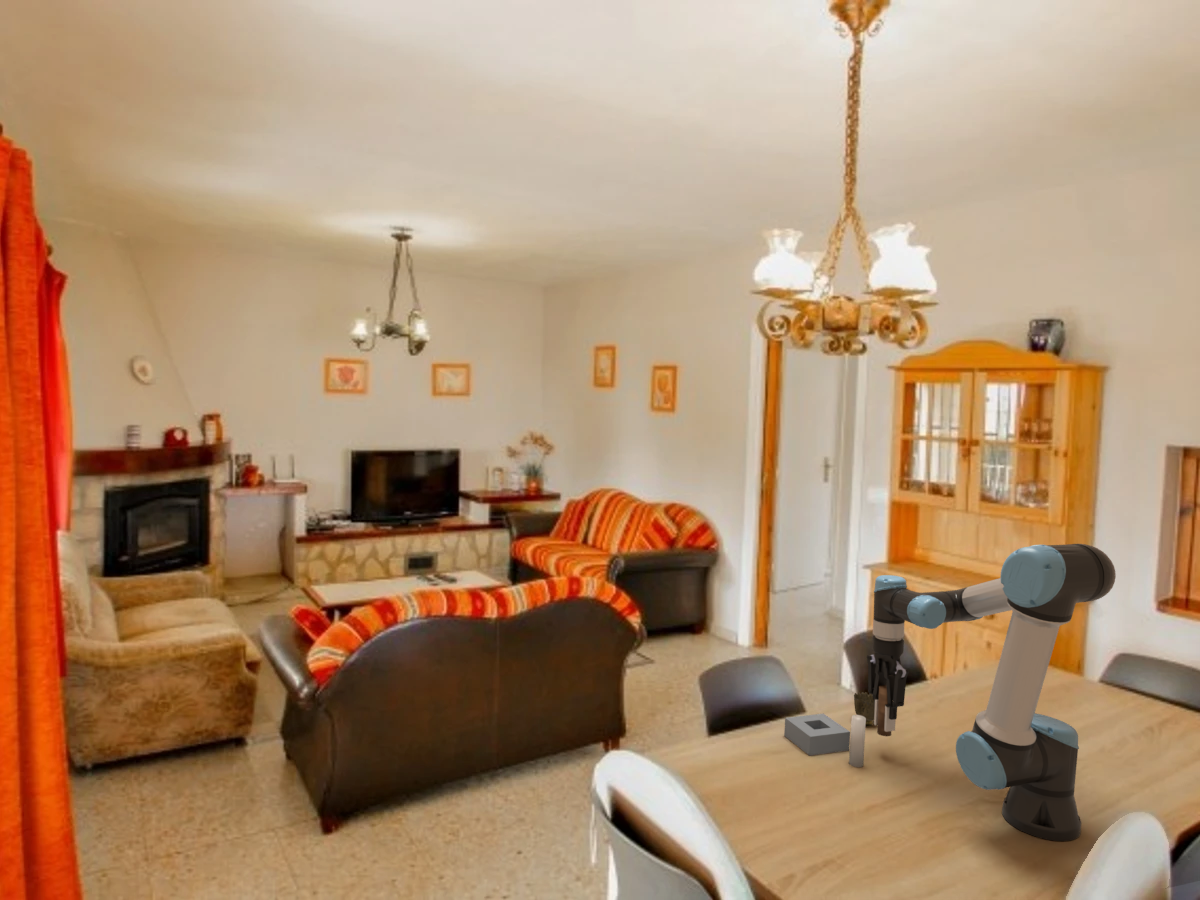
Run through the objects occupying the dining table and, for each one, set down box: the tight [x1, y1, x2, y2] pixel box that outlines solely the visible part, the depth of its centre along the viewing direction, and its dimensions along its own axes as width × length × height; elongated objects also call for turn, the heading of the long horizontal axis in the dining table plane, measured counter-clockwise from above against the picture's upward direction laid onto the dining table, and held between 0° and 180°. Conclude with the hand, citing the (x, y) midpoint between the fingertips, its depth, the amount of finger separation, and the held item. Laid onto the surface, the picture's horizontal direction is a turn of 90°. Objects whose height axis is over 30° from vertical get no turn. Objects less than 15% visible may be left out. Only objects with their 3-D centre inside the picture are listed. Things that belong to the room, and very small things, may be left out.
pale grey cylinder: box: [848, 714, 867, 768], centre depth 199 cm, size 3×3×12 cm
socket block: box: [783, 713, 851, 757], centre depth 211 cm, size 12×12×5 cm
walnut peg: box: [876, 684, 893, 737], centre depth 203 cm, size 3×3×12 cm
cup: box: [853, 691, 875, 727], centre depth 224 cm, size 8×7×8 cm
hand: (884, 727), depth 203 cm, fingers closed on walnut peg, 3 cm apart
